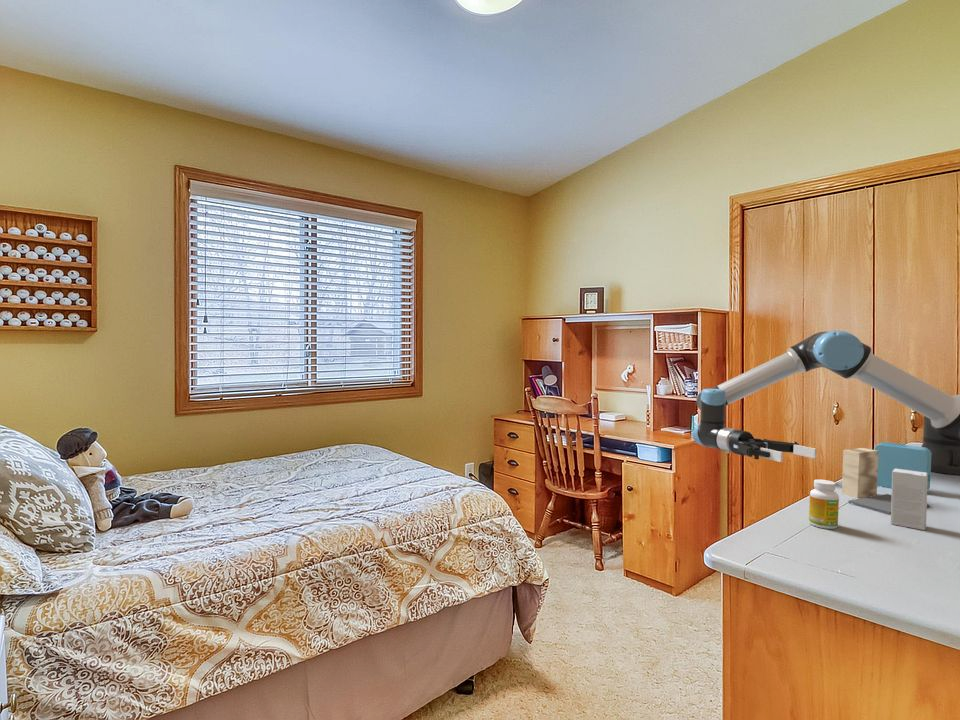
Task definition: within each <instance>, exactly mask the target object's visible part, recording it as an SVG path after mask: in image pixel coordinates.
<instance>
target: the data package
mask: <svg viewBox="0 0 960 720" xmlns="http://www.w3.org/2000/svg"><path fill="white" fill-rule="evenodd" d="M873 450H877V451H879V454H878V477H877V487H880V486H882V488H886V487H887V488H886V489H892V471H893V470H894V469H903V470H910V471H918V472H926V473H928V479H927V491H928V490H929V489H930V488H931V472H932V471H931V451H930V450H929V449H928V448H925V447H921V446H918V445H917V446H915V445H910V444H909V445H908V444H901V443H893V442H880V443H878V444H876V445H875V446H874V448H873Z"/></svg>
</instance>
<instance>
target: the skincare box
mask: <svg viewBox="0 0 960 720" xmlns="http://www.w3.org/2000/svg"><path fill="white" fill-rule="evenodd" d="M927 479H928V473H926V472H918V471H910V470H903V469H894V470H893V471H892V488H891V495H892V497H891V514H890V525H894V526H900V527H906V528H911V529H915V530H919V531H921V530H922V531H925V530H926V526H927V515H928V514H927V512H928V511H927V510H928V507H927V504H928V503H927V502H928V490H927Z"/></svg>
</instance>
